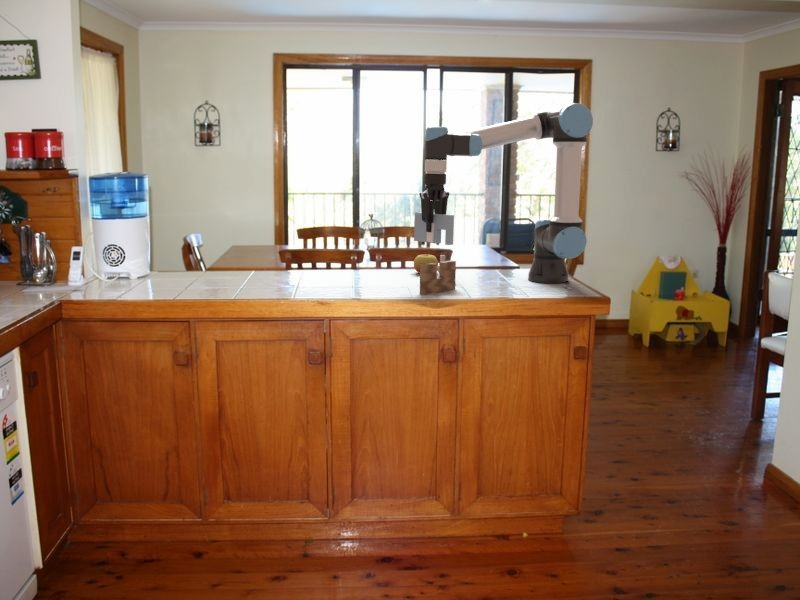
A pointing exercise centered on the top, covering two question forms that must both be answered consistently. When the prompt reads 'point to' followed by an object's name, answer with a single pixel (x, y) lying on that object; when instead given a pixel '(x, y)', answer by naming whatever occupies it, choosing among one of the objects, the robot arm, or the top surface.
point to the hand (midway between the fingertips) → (433, 241)
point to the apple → (424, 261)
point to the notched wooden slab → (434, 283)
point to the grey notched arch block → (439, 224)
